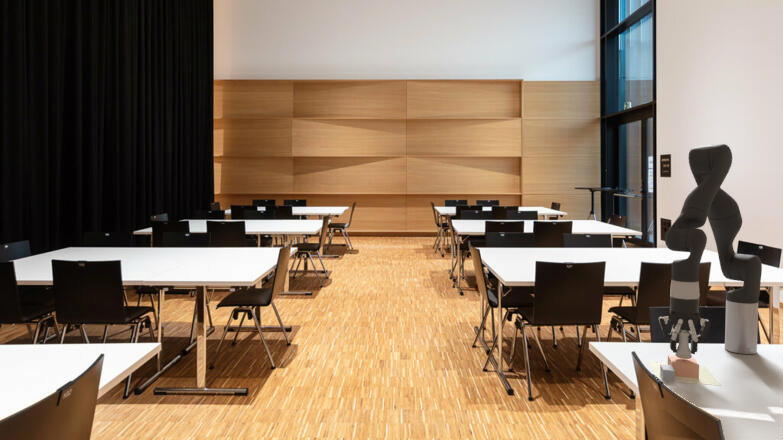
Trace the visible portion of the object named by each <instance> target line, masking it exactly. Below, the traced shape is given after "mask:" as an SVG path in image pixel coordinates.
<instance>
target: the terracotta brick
mask: <svg viewBox="0 0 783 440" xmlns="http://www.w3.org/2000/svg"><path fill="white" fill-rule="evenodd" d="M667 364H668V365H672V367H673V368H674V370H675V376H678V377H689V378H699V366H700V364H699V362H698V361H697V360H696V358H695V357H694V356H692V357H691V358H690V359H682V358H678V357H676V355H669V354H668V355H667Z"/></svg>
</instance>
